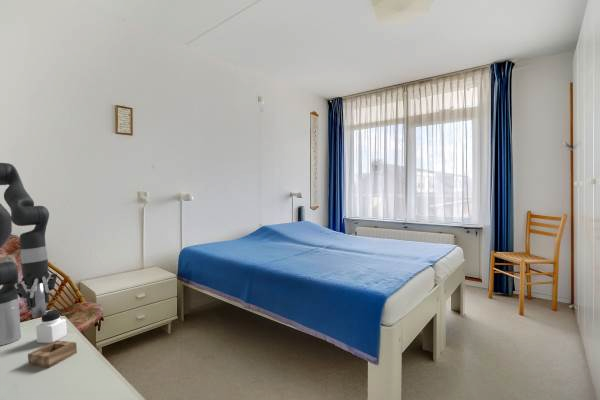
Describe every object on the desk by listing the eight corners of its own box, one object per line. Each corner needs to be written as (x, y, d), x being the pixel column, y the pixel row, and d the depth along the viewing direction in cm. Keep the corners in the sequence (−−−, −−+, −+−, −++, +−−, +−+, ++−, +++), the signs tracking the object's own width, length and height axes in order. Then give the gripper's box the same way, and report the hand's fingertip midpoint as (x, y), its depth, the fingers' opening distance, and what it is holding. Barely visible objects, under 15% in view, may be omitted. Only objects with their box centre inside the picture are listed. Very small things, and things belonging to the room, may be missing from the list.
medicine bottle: (67, 335, 133) (65, 307, 132) (52, 343, 125) (50, 314, 125) (52, 334, 133) (50, 307, 133) (36, 343, 126) (34, 314, 126)
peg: (29, 317, 113) (26, 284, 112) (41, 312, 116) (38, 281, 116) (37, 317, 111) (34, 285, 111) (49, 313, 115) (46, 281, 115)
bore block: (28, 364, 110) (27, 353, 110) (57, 350, 119) (56, 340, 119) (49, 367, 107) (48, 356, 107) (76, 352, 117) (76, 342, 117)
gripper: (47, 255, 121) (51, 298, 122) (4, 264, 107) (8, 312, 108) (61, 255, 119) (65, 298, 120) (19, 264, 105) (24, 313, 106)
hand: (38, 305), depth 114 cm, fingers closed on peg, 4 cm apart
